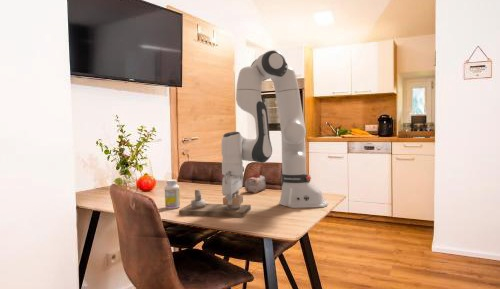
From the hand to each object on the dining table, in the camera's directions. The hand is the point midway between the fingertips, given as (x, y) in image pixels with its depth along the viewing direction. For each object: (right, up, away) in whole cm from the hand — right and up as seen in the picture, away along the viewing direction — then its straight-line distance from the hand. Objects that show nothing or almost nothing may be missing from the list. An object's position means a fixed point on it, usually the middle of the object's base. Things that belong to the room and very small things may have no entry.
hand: (233, 202), depth 154 cm
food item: (+10, -2, +49) cm, 50 cm away
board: (-8, -5, +2) cm, 9 cm away
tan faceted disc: (0, -1, 0) cm, 1 cm away
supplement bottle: (-29, -5, +13) cm, 32 cm away
